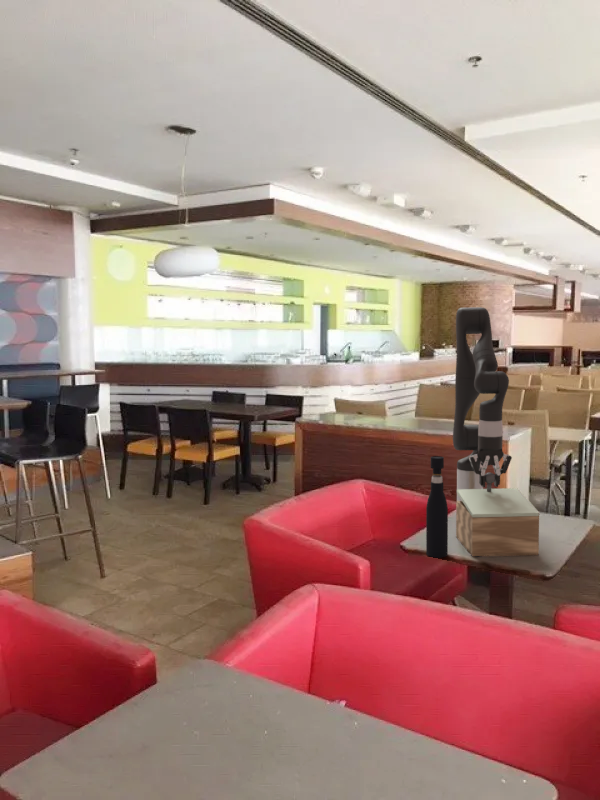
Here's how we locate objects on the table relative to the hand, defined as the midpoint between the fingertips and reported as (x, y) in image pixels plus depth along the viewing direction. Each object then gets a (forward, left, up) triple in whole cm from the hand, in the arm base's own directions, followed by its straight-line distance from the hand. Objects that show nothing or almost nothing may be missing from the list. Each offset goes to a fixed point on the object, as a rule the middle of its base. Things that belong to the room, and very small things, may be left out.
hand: (489, 486), depth 223 cm
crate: (+7, 0, -17) cm, 19 cm away
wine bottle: (+14, -20, -18) cm, 30 cm away
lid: (+7, 0, -4) cm, 8 cm away
